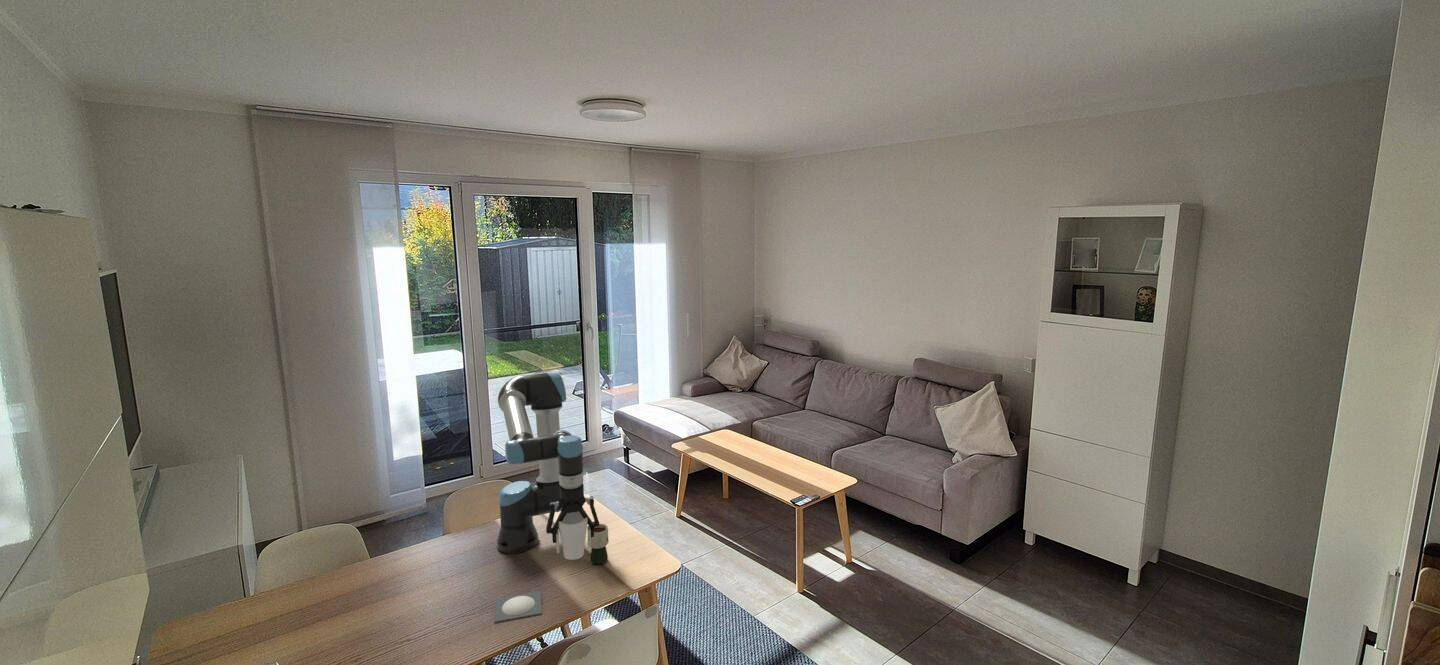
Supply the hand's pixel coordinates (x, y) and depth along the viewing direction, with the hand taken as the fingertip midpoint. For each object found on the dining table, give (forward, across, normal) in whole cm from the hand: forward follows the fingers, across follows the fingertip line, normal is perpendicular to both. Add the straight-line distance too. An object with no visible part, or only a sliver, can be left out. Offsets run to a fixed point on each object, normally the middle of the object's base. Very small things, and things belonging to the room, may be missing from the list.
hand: (573, 548), depth 198 cm
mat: (+17, -18, -1) cm, 24 cm away
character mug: (+17, +10, +18) cm, 26 cm away
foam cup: (+2, 0, 0) cm, 2 cm away
